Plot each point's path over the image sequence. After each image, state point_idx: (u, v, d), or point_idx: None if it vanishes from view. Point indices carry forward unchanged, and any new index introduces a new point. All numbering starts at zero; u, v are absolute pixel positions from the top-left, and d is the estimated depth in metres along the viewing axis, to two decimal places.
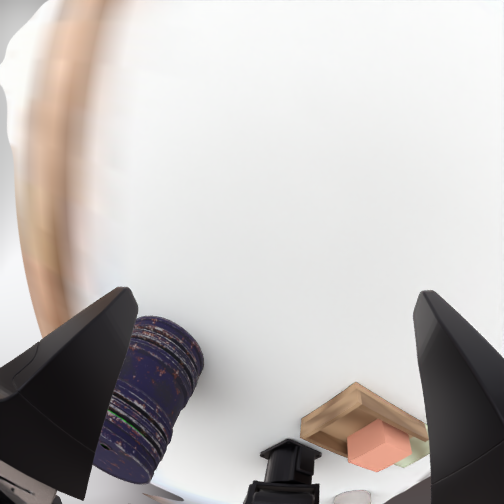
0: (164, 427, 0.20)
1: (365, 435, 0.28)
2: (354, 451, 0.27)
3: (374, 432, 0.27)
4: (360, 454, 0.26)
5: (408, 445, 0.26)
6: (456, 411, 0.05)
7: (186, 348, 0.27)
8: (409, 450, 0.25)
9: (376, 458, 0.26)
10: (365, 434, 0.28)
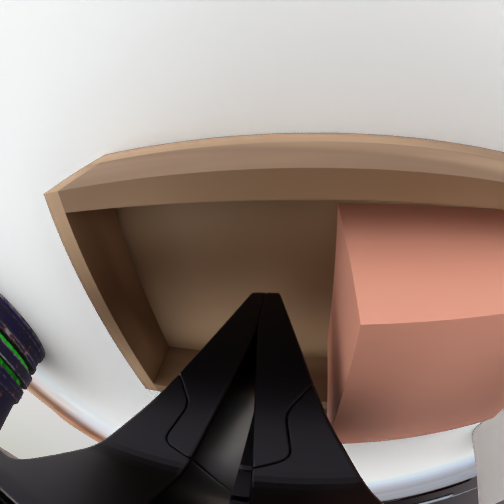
0: None
1: (336, 316, 0.08)
2: (330, 397, 0.07)
3: (341, 287, 0.07)
4: (334, 414, 0.06)
5: None
6: None
7: None
8: None
9: (431, 402, 0.05)
10: (336, 310, 0.08)
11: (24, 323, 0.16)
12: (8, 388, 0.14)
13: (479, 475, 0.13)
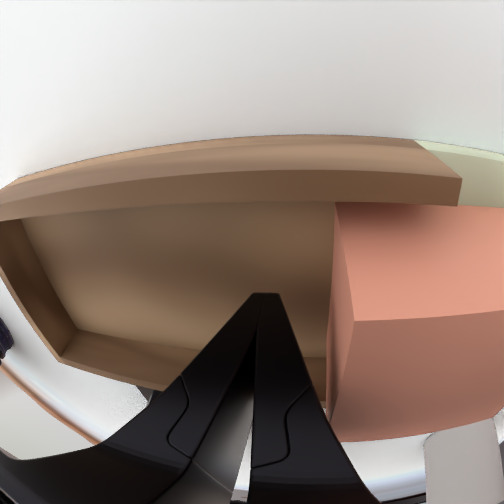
0: None
1: (333, 314, 0.08)
2: (328, 395, 0.07)
3: (338, 284, 0.07)
4: (331, 412, 0.06)
5: None
6: None
7: None
8: None
9: (430, 401, 0.05)
10: (333, 308, 0.08)
11: None
12: None
13: (427, 490, 0.14)
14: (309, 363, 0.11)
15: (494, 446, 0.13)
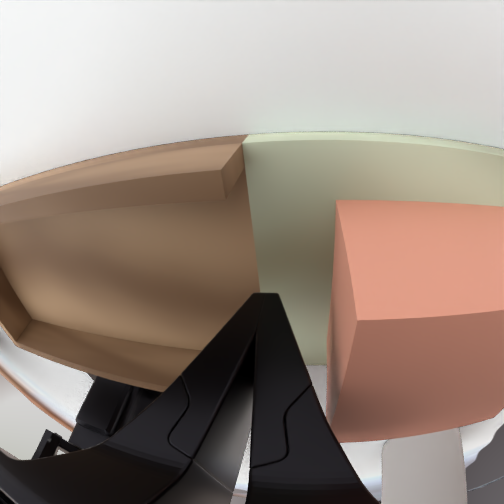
0: None
1: (334, 314, 0.07)
2: (329, 395, 0.07)
3: (339, 283, 0.06)
4: (332, 412, 0.06)
5: None
6: None
7: None
8: None
9: (431, 401, 0.05)
10: (334, 307, 0.08)
11: None
12: None
13: None
14: None
15: (455, 458, 0.13)
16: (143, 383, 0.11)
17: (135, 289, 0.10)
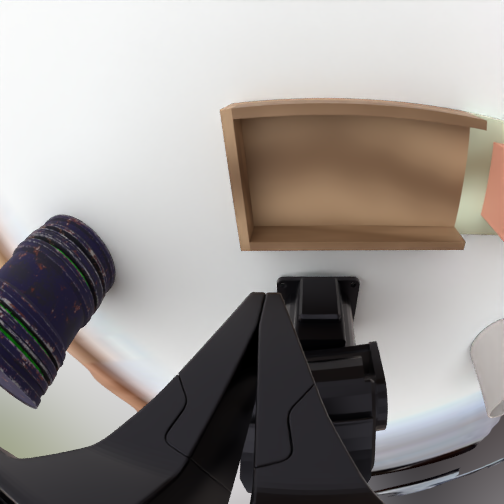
0: (12, 303, 0.15)
1: (498, 186, 0.13)
2: (503, 221, 0.13)
3: None
4: None
5: None
6: None
7: (57, 226, 0.22)
8: None
9: None
10: (497, 183, 0.13)
11: (105, 248, 0.24)
12: (86, 302, 0.21)
13: (482, 382, 0.21)
14: (423, 228, 0.17)
15: None
16: (402, 244, 0.16)
17: (403, 179, 0.16)
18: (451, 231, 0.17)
